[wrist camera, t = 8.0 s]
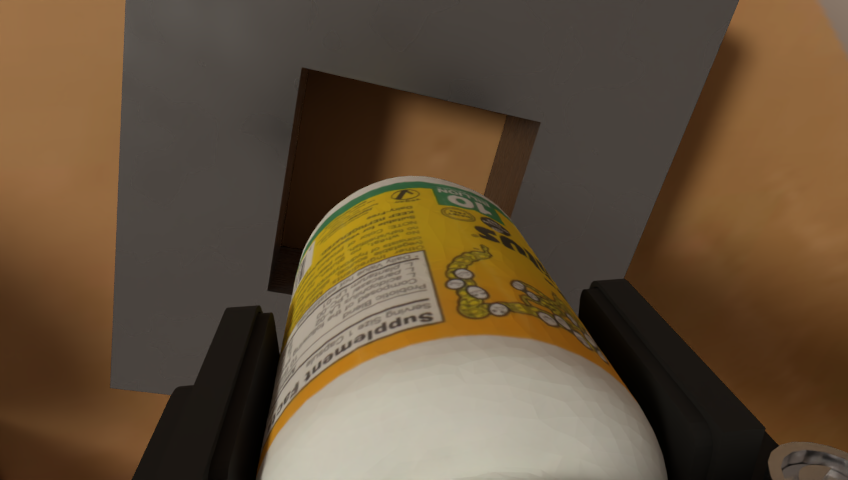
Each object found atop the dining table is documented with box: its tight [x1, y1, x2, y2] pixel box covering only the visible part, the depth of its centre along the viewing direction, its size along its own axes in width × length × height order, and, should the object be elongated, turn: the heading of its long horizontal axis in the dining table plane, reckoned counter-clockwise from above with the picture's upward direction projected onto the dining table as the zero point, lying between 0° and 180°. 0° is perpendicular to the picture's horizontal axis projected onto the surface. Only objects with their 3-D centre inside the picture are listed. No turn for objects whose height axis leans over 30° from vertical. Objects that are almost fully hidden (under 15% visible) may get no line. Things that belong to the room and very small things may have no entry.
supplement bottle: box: [256, 176, 668, 480], centre depth 9 cm, size 5×5×10 cm
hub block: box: [110, 0, 739, 395], centre depth 19 cm, size 16×16×4 cm
